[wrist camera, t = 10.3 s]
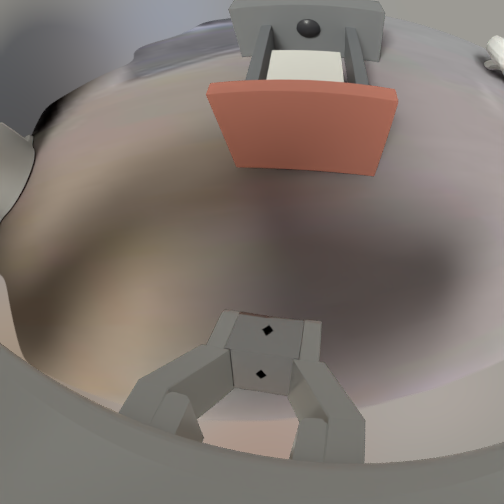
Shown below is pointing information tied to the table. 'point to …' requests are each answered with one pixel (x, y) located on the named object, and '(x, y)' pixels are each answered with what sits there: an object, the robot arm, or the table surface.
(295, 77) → the plug
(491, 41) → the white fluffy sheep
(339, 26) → the socket housing
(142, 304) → the table surface
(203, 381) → the robot arm
